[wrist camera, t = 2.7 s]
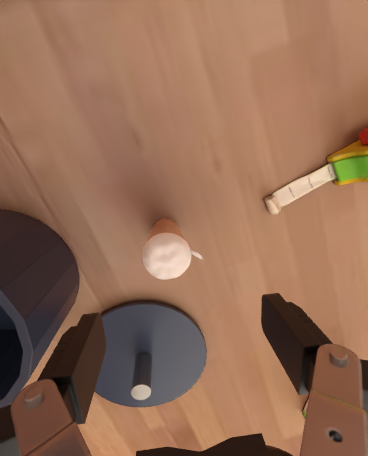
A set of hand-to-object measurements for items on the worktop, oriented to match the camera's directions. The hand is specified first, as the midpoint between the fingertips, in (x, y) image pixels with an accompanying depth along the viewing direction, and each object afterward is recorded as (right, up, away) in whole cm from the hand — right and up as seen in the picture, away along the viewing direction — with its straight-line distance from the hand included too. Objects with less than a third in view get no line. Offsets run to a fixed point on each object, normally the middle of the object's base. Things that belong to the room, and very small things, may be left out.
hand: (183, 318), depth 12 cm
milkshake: (-2, +4, +18) cm, 19 cm away
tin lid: (-6, -14, +23) cm, 27 cm away
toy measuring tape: (+19, +12, +18) cm, 28 cm away
